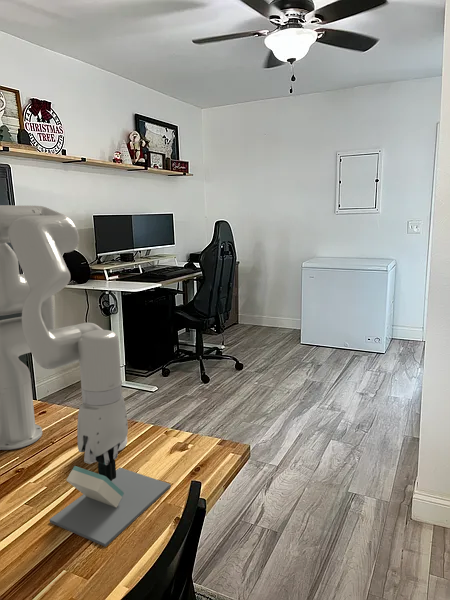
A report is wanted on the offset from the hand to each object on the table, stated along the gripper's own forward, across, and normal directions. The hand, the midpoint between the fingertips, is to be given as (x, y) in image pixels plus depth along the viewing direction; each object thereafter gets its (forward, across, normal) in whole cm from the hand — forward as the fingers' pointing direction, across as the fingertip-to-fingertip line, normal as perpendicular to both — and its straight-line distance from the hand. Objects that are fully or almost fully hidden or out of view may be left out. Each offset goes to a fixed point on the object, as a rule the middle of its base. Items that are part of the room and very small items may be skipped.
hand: (107, 478), depth 93 cm
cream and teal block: (+3, +1, 0) cm, 3 cm away
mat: (+5, +1, +2) cm, 5 cm away
